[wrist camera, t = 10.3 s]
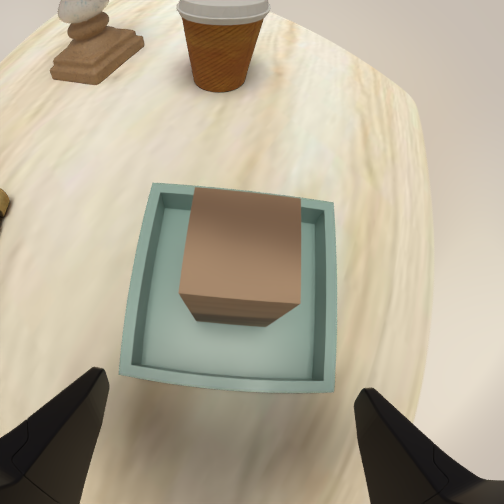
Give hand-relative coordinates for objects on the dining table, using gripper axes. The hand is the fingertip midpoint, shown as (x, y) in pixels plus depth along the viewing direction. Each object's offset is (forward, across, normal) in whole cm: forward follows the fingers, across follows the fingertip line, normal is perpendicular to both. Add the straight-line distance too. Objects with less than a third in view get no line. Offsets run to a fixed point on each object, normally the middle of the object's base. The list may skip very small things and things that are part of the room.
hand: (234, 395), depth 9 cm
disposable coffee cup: (+31, +4, -14) cm, 35 cm away
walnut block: (+12, 0, +4) cm, 13 cm away
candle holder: (+35, +24, -18) cm, 46 cm away
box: (+13, 0, +4) cm, 14 cm away
